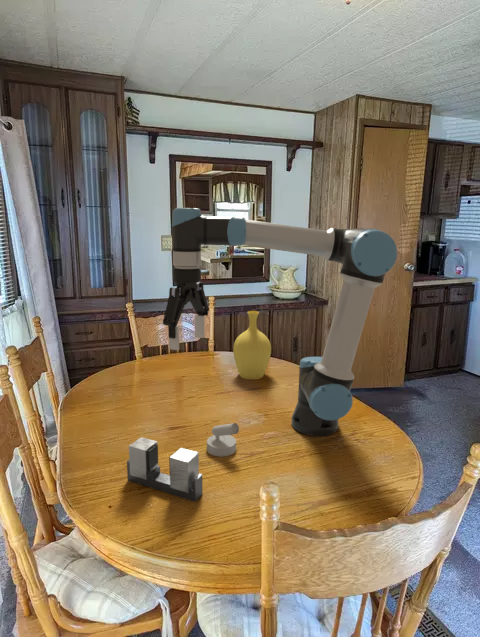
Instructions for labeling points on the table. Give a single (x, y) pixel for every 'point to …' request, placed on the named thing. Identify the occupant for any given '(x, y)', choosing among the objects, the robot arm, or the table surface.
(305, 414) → the robot arm
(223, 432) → the wall hook
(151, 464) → the light grey block
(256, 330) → the vase
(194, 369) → the table surface
